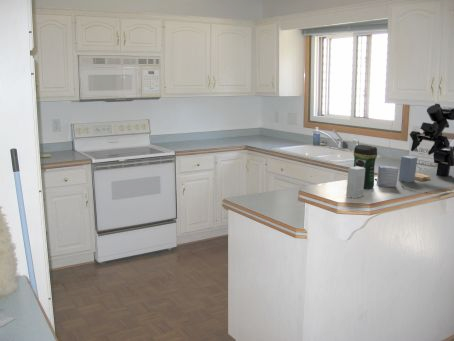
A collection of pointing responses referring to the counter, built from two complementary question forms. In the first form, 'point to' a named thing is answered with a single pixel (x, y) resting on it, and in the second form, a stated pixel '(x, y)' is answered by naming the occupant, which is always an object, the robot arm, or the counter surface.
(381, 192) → the counter surface
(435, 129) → the robot arm
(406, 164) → the slate block
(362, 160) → the coffee jar
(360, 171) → the skincare box
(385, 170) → the medicine box
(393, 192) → the counter surface
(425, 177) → the top slab
